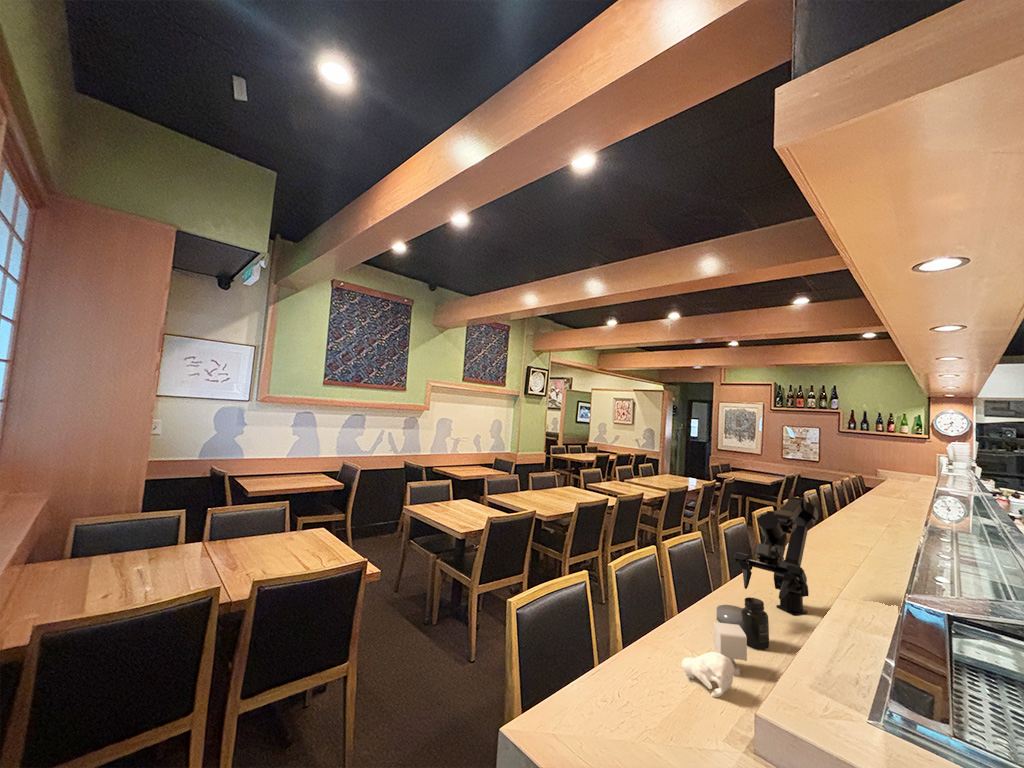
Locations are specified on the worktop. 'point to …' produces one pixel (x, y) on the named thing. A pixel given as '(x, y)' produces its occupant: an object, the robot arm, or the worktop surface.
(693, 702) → the worktop surface
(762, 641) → the supplement bottle
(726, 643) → the security camera
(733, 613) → the stand
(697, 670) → the white toy
